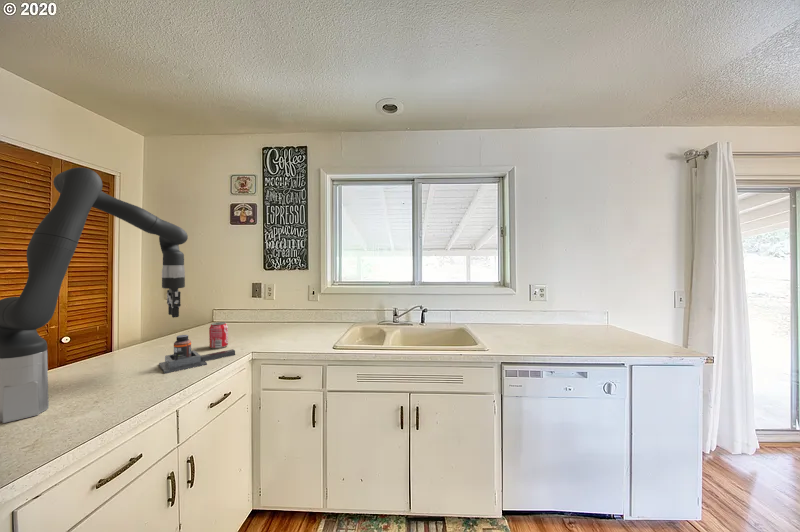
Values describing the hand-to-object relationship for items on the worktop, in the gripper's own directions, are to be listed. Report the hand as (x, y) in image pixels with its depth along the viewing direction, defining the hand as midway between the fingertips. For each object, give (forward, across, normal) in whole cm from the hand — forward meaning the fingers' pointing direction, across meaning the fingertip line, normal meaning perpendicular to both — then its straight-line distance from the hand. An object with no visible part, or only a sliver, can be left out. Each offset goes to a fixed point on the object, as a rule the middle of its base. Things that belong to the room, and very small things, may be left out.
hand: (173, 315), depth 123 cm
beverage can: (+21, -18, +21) cm, 34 cm away
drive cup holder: (+21, 0, +9) cm, 23 cm away
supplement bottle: (+20, 0, +3) cm, 20 cm away
